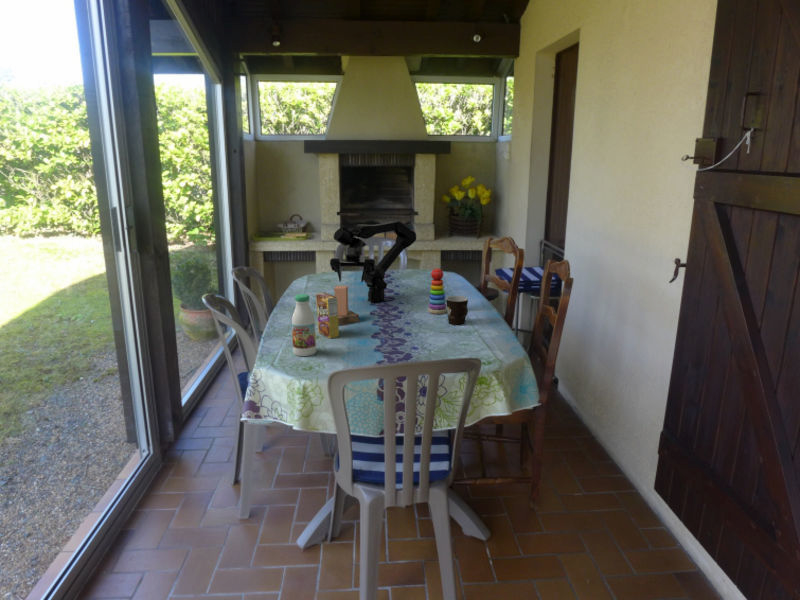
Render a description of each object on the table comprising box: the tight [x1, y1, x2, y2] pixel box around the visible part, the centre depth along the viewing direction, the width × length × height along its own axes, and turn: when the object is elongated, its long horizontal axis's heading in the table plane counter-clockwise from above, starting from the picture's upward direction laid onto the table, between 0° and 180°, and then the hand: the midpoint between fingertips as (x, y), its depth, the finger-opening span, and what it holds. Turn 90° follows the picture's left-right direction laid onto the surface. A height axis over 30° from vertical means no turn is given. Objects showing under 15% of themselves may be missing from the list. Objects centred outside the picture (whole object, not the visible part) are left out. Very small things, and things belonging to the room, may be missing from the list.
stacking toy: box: [427, 268, 447, 315], centre depth 232 cm, size 8×8×19 cm
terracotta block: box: [334, 285, 349, 315], centre depth 221 cm, size 4×4×11 cm
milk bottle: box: [291, 293, 317, 357], centre depth 185 cm, size 8×8×20 cm
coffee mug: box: [445, 295, 469, 326], centre depth 217 cm, size 12×9×10 cm
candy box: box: [315, 292, 340, 339], centre depth 204 cm, size 9×4×15 cm, turn 37°
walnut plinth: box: [338, 309, 360, 327], centre depth 222 cm, size 10×10×3 cm
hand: (350, 281), depth 230 cm, fingers open, 9 cm apart
